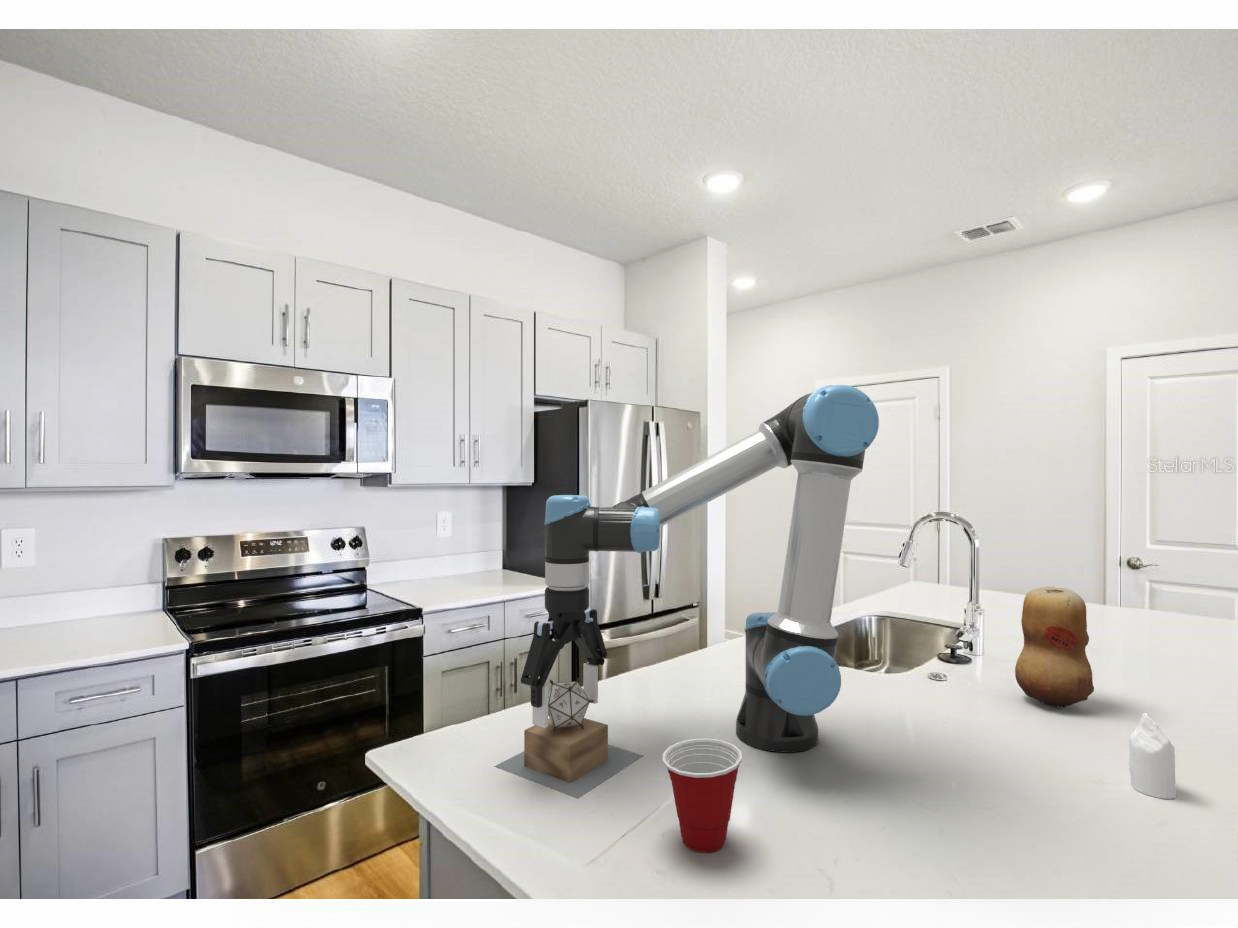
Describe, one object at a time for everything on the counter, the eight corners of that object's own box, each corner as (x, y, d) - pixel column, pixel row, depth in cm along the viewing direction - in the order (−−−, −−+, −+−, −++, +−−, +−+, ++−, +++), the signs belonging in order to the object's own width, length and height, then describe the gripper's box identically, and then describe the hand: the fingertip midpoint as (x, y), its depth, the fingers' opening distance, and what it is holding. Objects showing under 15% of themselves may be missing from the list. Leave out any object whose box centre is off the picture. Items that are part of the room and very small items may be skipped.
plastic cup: (656, 820, 93) (656, 736, 93) (730, 817, 94) (730, 734, 94) (668, 867, 82) (668, 772, 82) (752, 863, 83) (752, 769, 83)
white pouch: (1185, 721, 100) (1148, 721, 100) (1185, 799, 99) (1148, 799, 100) (1154, 707, 106) (1119, 706, 106) (1154, 780, 105) (1119, 780, 106)
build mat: (643, 758, 113) (643, 755, 113) (577, 802, 98) (577, 798, 98) (564, 733, 123) (564, 730, 123) (494, 769, 109) (494, 766, 109)
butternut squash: (1021, 711, 136) (1021, 591, 136) (1010, 690, 148) (1010, 581, 148) (1102, 721, 130) (1102, 596, 130) (1083, 699, 143) (1083, 585, 143)
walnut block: (607, 759, 111) (607, 724, 111) (570, 782, 103) (570, 744, 103) (563, 745, 117) (563, 711, 117) (524, 765, 109) (524, 730, 109)
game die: (573, 753, 108) (582, 719, 103) (528, 730, 110) (534, 695, 104) (595, 711, 115) (604, 677, 110) (552, 690, 117) (559, 655, 111)
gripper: (593, 574, 122) (593, 688, 122) (498, 595, 102) (497, 731, 102) (626, 578, 118) (626, 696, 118) (533, 601, 98) (532, 743, 98)
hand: (566, 713), depth 110 cm, fingers open, 12 cm apart
